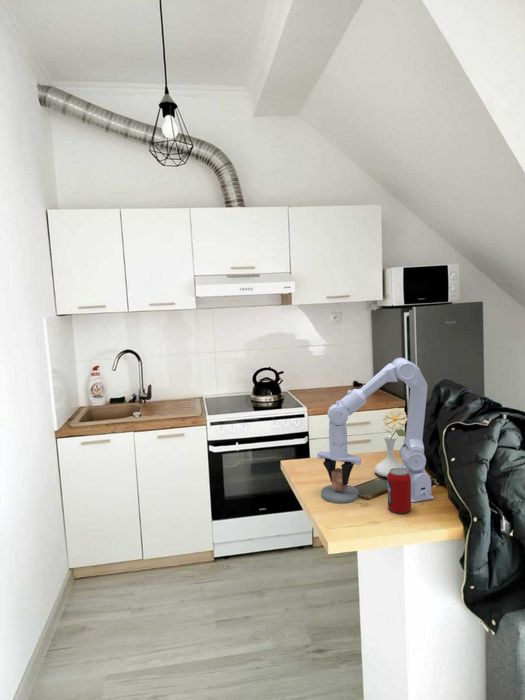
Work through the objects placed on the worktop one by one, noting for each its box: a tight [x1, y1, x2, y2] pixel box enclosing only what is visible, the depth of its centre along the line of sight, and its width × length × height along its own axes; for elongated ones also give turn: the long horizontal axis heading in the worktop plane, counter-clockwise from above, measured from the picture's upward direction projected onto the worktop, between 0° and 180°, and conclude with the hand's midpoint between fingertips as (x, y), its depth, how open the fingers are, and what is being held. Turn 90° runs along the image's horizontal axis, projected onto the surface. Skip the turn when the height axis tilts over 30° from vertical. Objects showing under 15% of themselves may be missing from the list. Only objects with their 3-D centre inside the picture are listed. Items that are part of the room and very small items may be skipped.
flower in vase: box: [374, 407, 408, 478], centre depth 170 cm, size 13×11×25 cm
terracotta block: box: [331, 467, 348, 491], centre depth 155 cm, size 4×4×6 cm
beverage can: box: [386, 468, 412, 514], centre depth 143 cm, size 7×7×12 cm
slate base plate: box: [320, 484, 360, 504], centre depth 155 cm, size 12×12×2 cm
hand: (339, 482), depth 155 cm, fingers closed on terracotta block, 4 cm apart
